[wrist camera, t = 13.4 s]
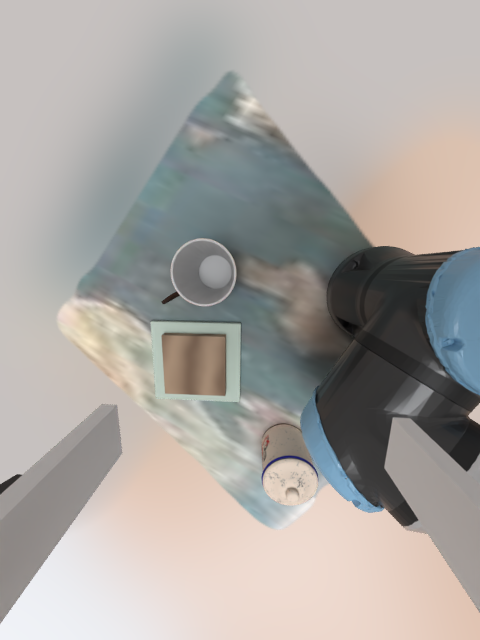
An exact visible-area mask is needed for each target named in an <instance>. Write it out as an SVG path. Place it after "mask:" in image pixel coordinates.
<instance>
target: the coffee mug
mask: <svg viewBox="0 0 480 640" xmlns="http://www.w3.org/2000/svg"><path fill="white" fill-rule="evenodd" d="M170 273H171V280H172V283H173V286H174V287H175V289H176V291H177V292H175V293H173V294H171V295H170V296H168V297H167V298H166V299H164V300H163V301H162V303H163V304H165V303H167V302H169V301H171V300H173V299H174V298H176V297H178V296H179V295H180V296H181V297H182V298H183V299H185V300H186V301H188V302H190V303H191V304H194V305H197V306H212V305H215V304H218V303H219V302H221V301H223V300H224V299H225V298H227V296H228V295H229V294H230V293H231V291H232V289H233V288H234V285H235V282H236V275H237V273H236V265H235V262H234V259H233V257H232V255H231V254H230V252H229V251H228V250H227V249H226V248H225V247H224V246H223V245H222V244H220V243H218V242H216V241H214V240H211V239H205V238H200V239H194V240H191V241H189V242H187V243H185V244H184V245H182V246H181V247H180V248H179V249H178V251H177V252H176V253H175V255H174V257H173V259H172V263H171V272H170Z"/></svg>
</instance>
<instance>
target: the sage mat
mask: <svg viewBox="0 0 480 640" xmlns="http://www.w3.org/2000/svg"><path fill="white" fill-rule="evenodd" d="M164 333H191V334H226V395H225V396H212V395H187V394H165V386H164V369H163V353H162V337H161V335H162V334H164ZM151 335H152V350H153V364H154V379H155V393H156V398H158V399H181V400H204V401H227V402H240V360H241V323H231V322H192V321H154V320H153V321H151Z"/></svg>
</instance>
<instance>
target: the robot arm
mask: <svg viewBox="0 0 480 640" xmlns="http://www.w3.org/2000/svg"><path fill="white" fill-rule="evenodd" d="M327 305H328V309H329V312H330V315H331V317H332V318H333V320H334V321H335V323H336V324H337V325H338V326H339V327H340V328H341V329H343V330H344V331H346V332H347V333H349V334H350V335H352V336H354V337H356V338H355V339H354V340H353V341H352V343H351V344H350V345H349V347H348V348H347V349H346V351H345V352H344V354H343V355H342V356H341V358H340V359H339V360H338V362H337V363H336V364H335V366H334V367H333V368H332V370H331V371H330V372H329V374H328V375H327V377H326V378H325V379H324V381H323V382H322V383H321V385H320V386H317V387H316V388H315V390H314V392H313V396H312V397H311V399H310V400H309V402H308V404H307V405H306V407H305V408H304V410H303V412H302V414H301V420H300V423H301V430H302V436H303V439H304V442H305V445H306V447H307V449H308V452H309V454H310V455H311V457H312V459H313V461H314V462H315V464H316V466H317V467H318V469H319V470H320V471H321V473H322V474H323V476H324V477H325V478H326V480H327V481H328V482H329V483H330V484H331V485H332V487H333V488H334V489H335V490H336V491H337V492H338V493H339V494H340V495H341V496H342V497H344V498H345V499H346V500H347V501H352V502H353V504H354V505H355V507H357V508H358V509H360V510H362V511H365V512H369V513H372V512H379V511H382V510H383V509H384V508H385V509H386V510H388V512H389V513H390V514H391V515H392V516H393V517H394V518H395V519H396V520H397V521H398V522H399V523H400V524H401V525H402V526H403V527H404V528H405V529H406V530H408V531H414V532H419V533H425V534H428V535H429V536H430V538H431V539H432V541H433V542H434V544H435V545H436V547H437V548H438V550H439V551H440V553H441V555H442V556H443V558H444V559H445V561H446V562H447V564H448V565H449V567H450V568H451V569H452V571H453V573H454V574H455V576H456V577H457V579H458V580H459V582H460V583H461V585H462V586H463V588H464V589H465V591H466V592H467V594H468V595H469V597H470V599H471V600H472V601H473V603H474V605H475V606H476V608H477V609H478V610H479V612H480V425H479V424H478V423H476V422H475V421H473V420H472V419H470V418H469V417H468V415H469V413H470V412H472V411H473V409H474V408H475V407H476V406H477V405H478V404H479V403H480V247H476V248H474V247H473V248H470V249H465V250H461V251H451V252H442V253H431V254H421V255H414V254H412V253H410V252H408V251H406V250H403V249H400V248H396V247H389V246H380V247H373V248H368V249H364V250H361V251H359V252H356V253H354V254H353V255H351V256H350V257H348V258H347V259H346V260H344V261H343V262H342V263H341V264H340V265H339V267H338V268H337V269H336V270H335V272H334V274H333V275H332V277H331V280H330V282H329V285H328V290H327ZM121 454H122V446H121V437H120V429H119V419H118V410H117V405H108V404H102V405H101V406H99V407H98V408H97V409H96V410H95V411H94V412H93V413H92V414H90V415H89V416H88V417H87V418H86V419H85V420H84V421H83V422H81V423H80V424H79V425H78V426H77V427H76V428H75V429H74V430H72V431H71V432H70V433H69V434H68V435H67V436H66V437H65V438H64V439H62V440H61V441H60V442H59V443H58V444H57V445H56V446H54V447H53V448H52V449H51V450H50V451H49V452H48V453H47V454H45V455H44V456H43V457H42V458H41V459H40V460H39V461H38V462H36V463H35V464H34V465H33V466H32V467H31V468H30V469H29V470H27V471H26V472H25V473H24V474H23V475H18V474H17V475H15V476H13V477H12V478H10V479H9V480H7V481H5V482H3V483H2V484H0V623H1V622H2V621H3V619H4V618H5V616H6V615H7V614H8V612H9V610H10V609H11V608H12V607H13V605H14V604H15V602H16V601H17V599H18V598H19V597H20V595H21V594H22V593H23V591H24V590H25V588H26V587H27V586H28V584H29V583H30V581H31V580H32V579H33V577H34V576H35V574H36V573H37V572H38V570H39V568H40V567H41V566H42V565H43V563H44V562H45V560H46V559H47V558H48V556H49V555H50V553H51V552H52V551H53V549H54V548H55V546H56V545H57V544H58V542H59V541H60V539H61V538H62V537H63V535H64V534H65V532H66V531H67V530H68V528H69V527H70V525H71V524H72V522H73V521H74V520H75V518H76V517H77V516H78V514H79V513H80V511H81V510H82V509H83V507H84V506H85V504H86V503H87V502H88V500H89V499H90V497H91V496H92V495H93V493H94V492H95V490H96V489H97V488H98V486H99V485H100V483H101V482H102V481H103V479H104V478H105V476H106V475H107V474H108V472H109V471H110V469H111V468H112V467H113V465H114V464H115V462H116V461H117V460H118V458H119V457H120V455H121Z"/></svg>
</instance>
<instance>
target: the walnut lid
mask: <svg viewBox="0 0 480 640" xmlns="http://www.w3.org/2000/svg"><path fill="white" fill-rule="evenodd" d="M161 337H162V353H163V369H164V386H165V394H187V395H212V396H225V395H226V334H191V333H164V334H162V335H161Z"/></svg>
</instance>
